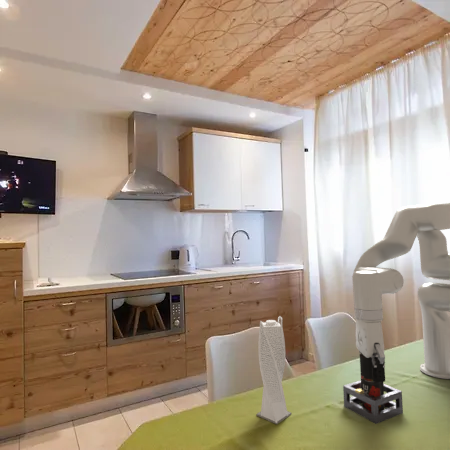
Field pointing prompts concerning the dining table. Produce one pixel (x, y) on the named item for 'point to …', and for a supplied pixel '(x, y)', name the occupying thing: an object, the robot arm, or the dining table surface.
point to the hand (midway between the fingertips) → (372, 374)
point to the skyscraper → (272, 371)
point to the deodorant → (370, 382)
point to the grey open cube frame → (373, 402)
